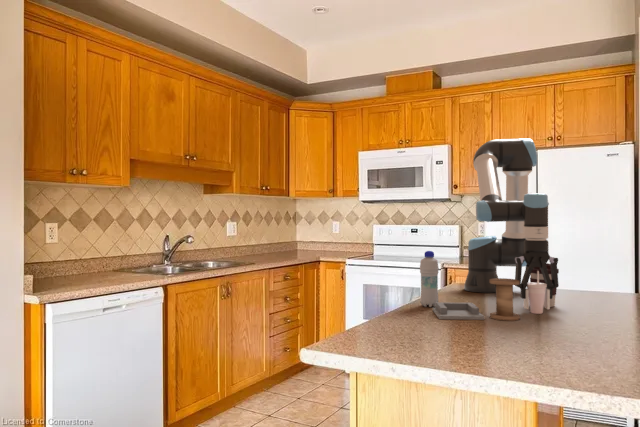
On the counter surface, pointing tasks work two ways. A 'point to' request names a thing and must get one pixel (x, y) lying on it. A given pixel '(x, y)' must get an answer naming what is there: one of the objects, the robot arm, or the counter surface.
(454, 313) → the notch board
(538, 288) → the smoothie
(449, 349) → the counter surface
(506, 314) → the bobbin
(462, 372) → the counter surface
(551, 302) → the coffee cup
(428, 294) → the bottle
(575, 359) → the counter surface
